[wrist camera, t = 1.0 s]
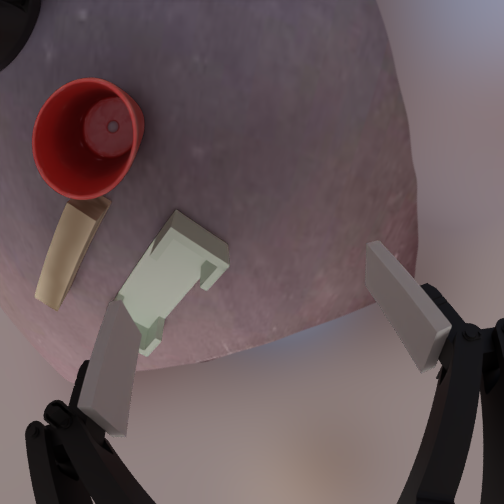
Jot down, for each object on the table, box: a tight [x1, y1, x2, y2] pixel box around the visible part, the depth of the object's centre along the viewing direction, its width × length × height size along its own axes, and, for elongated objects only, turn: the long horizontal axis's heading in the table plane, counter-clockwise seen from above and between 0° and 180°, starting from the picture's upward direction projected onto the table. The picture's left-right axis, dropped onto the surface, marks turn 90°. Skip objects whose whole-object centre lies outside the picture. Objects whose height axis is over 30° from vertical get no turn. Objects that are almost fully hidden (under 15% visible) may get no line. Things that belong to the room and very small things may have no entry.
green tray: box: [113, 210, 230, 357], centre depth 37 cm, size 8×20×5 cm, turn 140°
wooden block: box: [34, 196, 112, 312], centre depth 33 cm, size 4×16×6 cm, turn 141°
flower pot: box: [32, 78, 145, 200], centre depth 25 cm, size 11×11×10 cm
